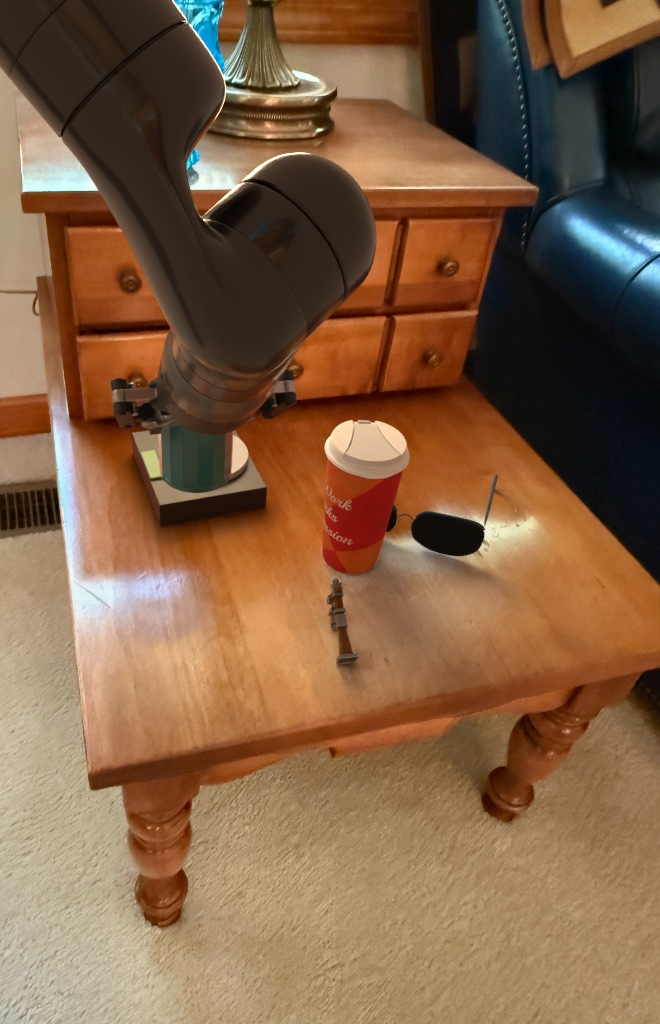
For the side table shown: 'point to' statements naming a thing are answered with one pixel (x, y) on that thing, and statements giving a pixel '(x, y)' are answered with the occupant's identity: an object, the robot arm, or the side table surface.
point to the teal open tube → (194, 459)
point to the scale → (183, 507)
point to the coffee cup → (360, 492)
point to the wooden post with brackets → (340, 623)
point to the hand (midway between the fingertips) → (192, 420)
